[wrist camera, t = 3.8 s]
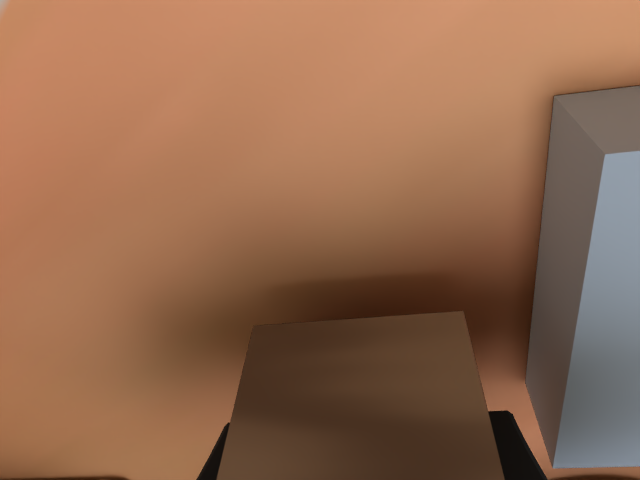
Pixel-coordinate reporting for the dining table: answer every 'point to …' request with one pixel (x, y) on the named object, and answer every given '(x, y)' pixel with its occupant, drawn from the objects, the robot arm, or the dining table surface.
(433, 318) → the walnut block
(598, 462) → the grey base
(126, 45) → the dining table surface
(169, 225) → the dining table surface
